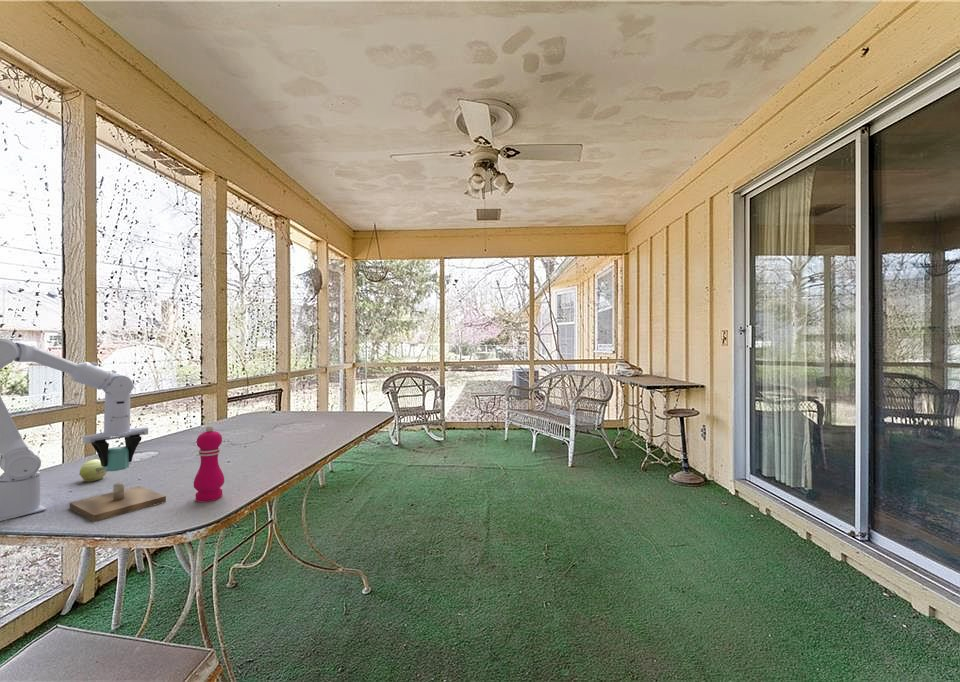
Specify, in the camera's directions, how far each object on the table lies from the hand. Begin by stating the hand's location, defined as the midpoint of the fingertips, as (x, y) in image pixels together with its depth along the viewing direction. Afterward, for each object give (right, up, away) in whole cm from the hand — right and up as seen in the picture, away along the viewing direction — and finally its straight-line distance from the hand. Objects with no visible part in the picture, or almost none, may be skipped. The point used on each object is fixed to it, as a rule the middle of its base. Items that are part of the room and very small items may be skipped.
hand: (116, 463), depth 122 cm
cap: (0, -1, 0) cm, 1 cm away
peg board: (+9, -8, -10) cm, 16 cm away
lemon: (-17, -8, +11) cm, 22 cm away
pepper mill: (+30, -8, -5) cm, 31 cm away
